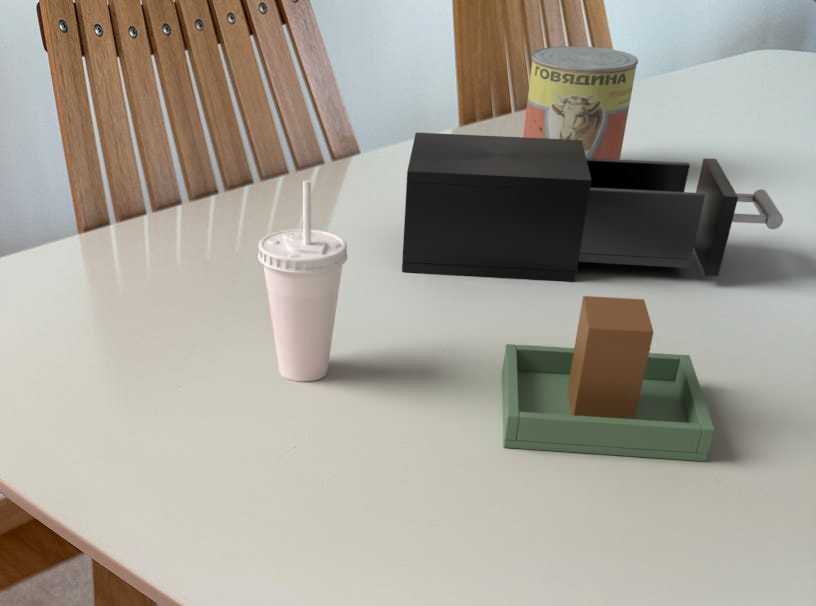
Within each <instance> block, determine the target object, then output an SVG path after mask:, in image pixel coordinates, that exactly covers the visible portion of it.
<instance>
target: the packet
mask: <svg viewBox="0 0 816 606" xmlns="http://www.w3.org/2000/svg"><path fill="white" fill-rule="evenodd" d="M653 338H654V328H653V325H652V321H651V319H650V315H649V312H648V308H647V305H646V301H645V298H643V299H642V298H624V297H611V296H610V297H607V296H590V295H583V296H582V300H581V307H580V314H579V319H578V324H577V331H576V337H575V342H574V343H575V344H574V346H573V348H574V353H573V359H572V365H571V371H570V377H569V383H568V395H569V403H570V411H571V415H576V416H591V417H606V418H621V419H635V415H636V410H637V406H638V401H639V396H640V392H641V387H642V383H643V378H644V374H645V369H646V364H647V360H648V355H649V353H650V350H651V345H652V341H653Z"/></svg>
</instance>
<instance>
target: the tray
mask: <svg viewBox="0 0 816 606" xmlns="http://www.w3.org/2000/svg"><path fill="white" fill-rule="evenodd" d="M573 353H574V347H562V346H545V345H530V344H529V345H528V344H515V343H514V344H511V343H507V344H505V350H504V358H503V367H502V429H503V430H502V433H503V434H502V437H503V438H502V440H503V443H502V444H503V448H507V449H522V450H535V451H536V450H538V451H549V452H550V451H552V452H562V453H563V452H564V453H580V454H594V455H607V456H609V455H610V456H620V457H621V456H625V457H637V458H651V459H664V460H678V461H679V460H680V461H695V462H707V459H708V456H709V453H710V449H711V445H712V441H713V438H714V435H715V427H714V424H713V421H712V418H711V415H710V412H709V409H708V406H707V403H706V400H705V397H704V394H703V391H702V389H701V385H700V383H699V382H700V381H699V379H698V376H697V373H696V370H695V367H694V364H693V361H692V359H691V355H690V354H675V353H674V354H673V353H660V352H659V353H658V352H657V353H656V352H649V355H648V360H647V364H646V369H645V374H644V378H643V383H642V387H641V392H640V396H639V401H638V406H637V410H636V415H635V419H621V418H606V417H591V416H576V415H571V411H570V403H569V395H568V383H569V377H570V371H571V365H572V359H573Z"/></svg>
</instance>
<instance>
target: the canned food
mask: <svg viewBox="0 0 816 606" xmlns="http://www.w3.org/2000/svg"><path fill="white" fill-rule="evenodd" d="M531 59H532V60H531V68H530V77H529V85H528V94H527V95H528V96H527V101H526V111H525V118H524V119H525V120H524V128H523V134H522V135H523V137H526V138H548V139H570V140H582V143H583V147H584V151H585V155H586V158H598V159H619V160H621V156H622V149H623V144H624V138H625V132H626V128H627V121H628V116H629V110H630V104H631V99H632V92H633V87H634V81H635V76H636V70H637V66H638V64H639V59H638V57H637V56H636V55H633V54H631V53H629V52H626V51H621V50H617V49H612V48H605V47H597V46H584V45H583V46H582V45H581V46H580V45H565V46H564V45H562V46H561V45H559V46H551V47H544V48H539V49H537V50H535V51H533V53H532V54H531Z"/></svg>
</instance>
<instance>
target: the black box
mask: <svg viewBox="0 0 816 606" xmlns="http://www.w3.org/2000/svg"><path fill="white" fill-rule="evenodd" d="M405 187H406V188H405V205H404V223H403V224H404V225H403V243H402V258H401V259H402V263H401V272H402V273H418V274H419V273H420V274H433V275H450V276H451V275H452V276H453V275H454V276H470V277H471V276H472V277H473V276H474V277H490V278H506V279H524V280H541V281H556V282H557V281H562V282H575V281H576V278H577V271H578V265H579V262H578V260H579V254H580V248H581V242H582V236H583V230H584V224H585V217H586V211H587V205H588V199H589V193H590V187H591V176H590V172H589V168H588V164H587V160H586V155H585V151H584V147H583V143H582V140H570V139H548V138H526V137H521V136H502V135H478V134H461V133H460V134H459V133H457V134H455V133H439V132H438V133H436V132H415V133H414V138H413V143H412V148H411V153H410V157H409V162H408V166H407V171H406V186H405Z"/></svg>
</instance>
